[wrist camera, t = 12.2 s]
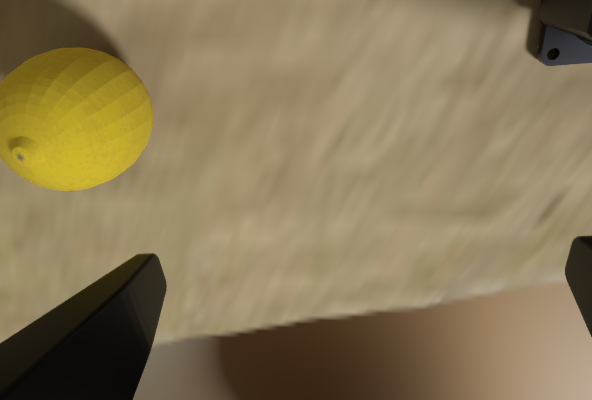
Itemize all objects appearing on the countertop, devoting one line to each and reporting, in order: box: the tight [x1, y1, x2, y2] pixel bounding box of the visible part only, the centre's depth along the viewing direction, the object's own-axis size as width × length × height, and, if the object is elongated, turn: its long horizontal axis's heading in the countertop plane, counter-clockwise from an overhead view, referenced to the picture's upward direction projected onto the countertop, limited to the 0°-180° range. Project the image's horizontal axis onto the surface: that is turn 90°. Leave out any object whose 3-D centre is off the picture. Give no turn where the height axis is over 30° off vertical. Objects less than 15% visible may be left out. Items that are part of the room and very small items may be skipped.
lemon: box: [0, 48, 153, 191], centre depth 18 cm, size 6×6×8 cm
